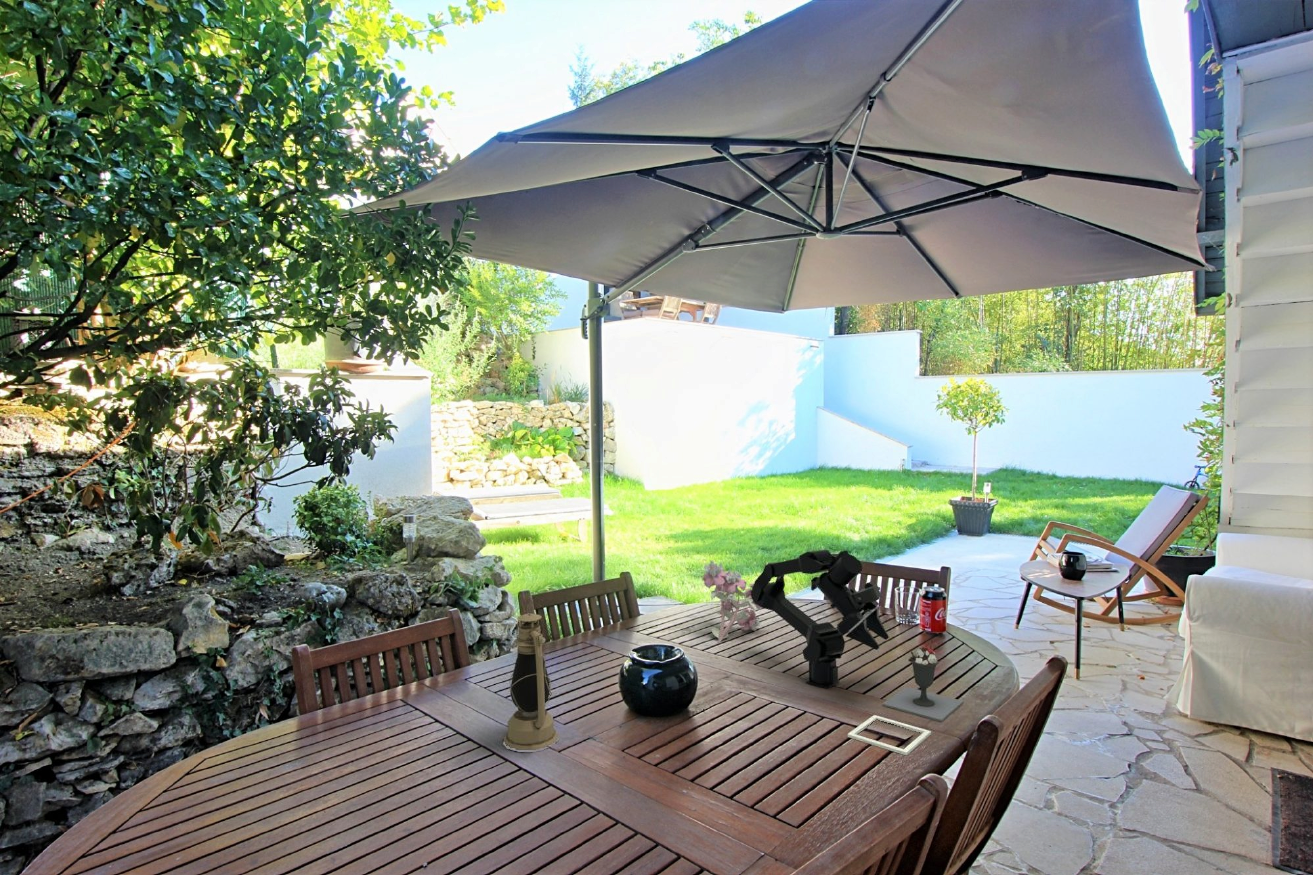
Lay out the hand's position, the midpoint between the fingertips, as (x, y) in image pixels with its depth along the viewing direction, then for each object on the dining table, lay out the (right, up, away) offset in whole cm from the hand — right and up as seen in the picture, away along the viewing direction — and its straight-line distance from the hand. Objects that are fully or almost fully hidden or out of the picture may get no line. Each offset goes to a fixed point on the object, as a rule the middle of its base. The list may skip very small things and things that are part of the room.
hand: (882, 643), depth 178 cm
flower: (-30, -12, +52) cm, 61 cm away
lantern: (-82, -15, -22) cm, 86 cm away
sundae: (+8, -13, -5) cm, 16 cm away
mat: (+8, -13, -5) cm, 16 cm away
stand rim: (-5, -14, -21) cm, 26 cm away
